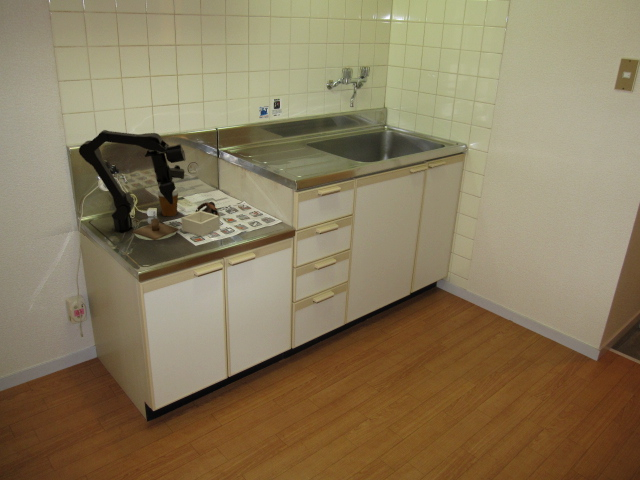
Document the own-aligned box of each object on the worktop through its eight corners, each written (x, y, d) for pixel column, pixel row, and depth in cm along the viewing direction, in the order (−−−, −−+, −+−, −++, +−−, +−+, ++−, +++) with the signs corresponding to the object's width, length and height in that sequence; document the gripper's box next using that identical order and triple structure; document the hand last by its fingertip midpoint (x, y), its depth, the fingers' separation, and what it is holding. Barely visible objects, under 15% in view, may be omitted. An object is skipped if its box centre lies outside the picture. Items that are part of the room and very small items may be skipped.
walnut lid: (154, 240, 218) (153, 228, 216) (132, 232, 224) (131, 220, 222) (178, 230, 228) (177, 218, 226) (157, 223, 235) (156, 211, 232)
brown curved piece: (218, 223, 240) (208, 209, 235) (201, 230, 243) (190, 216, 238) (224, 207, 249) (214, 194, 245) (207, 214, 252) (197, 201, 248)
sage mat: (154, 244, 216) (154, 243, 216) (125, 234, 224) (125, 233, 224) (185, 231, 229) (185, 229, 229) (157, 222, 237) (157, 221, 237)
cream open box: (201, 237, 223) (200, 223, 221) (182, 231, 229) (181, 217, 226) (219, 229, 232) (219, 216, 230) (200, 223, 237) (200, 210, 235)
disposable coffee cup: (161, 219, 240) (159, 193, 235) (156, 212, 248) (154, 187, 243) (182, 216, 244) (181, 191, 239) (177, 209, 252) (175, 185, 247)
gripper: (182, 165, 213) (192, 202, 219) (177, 155, 229) (187, 190, 235) (154, 172, 210) (165, 209, 216) (151, 161, 226) (161, 196, 233)
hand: (170, 201), depth 225 cm, fingers open, 9 cm apart
